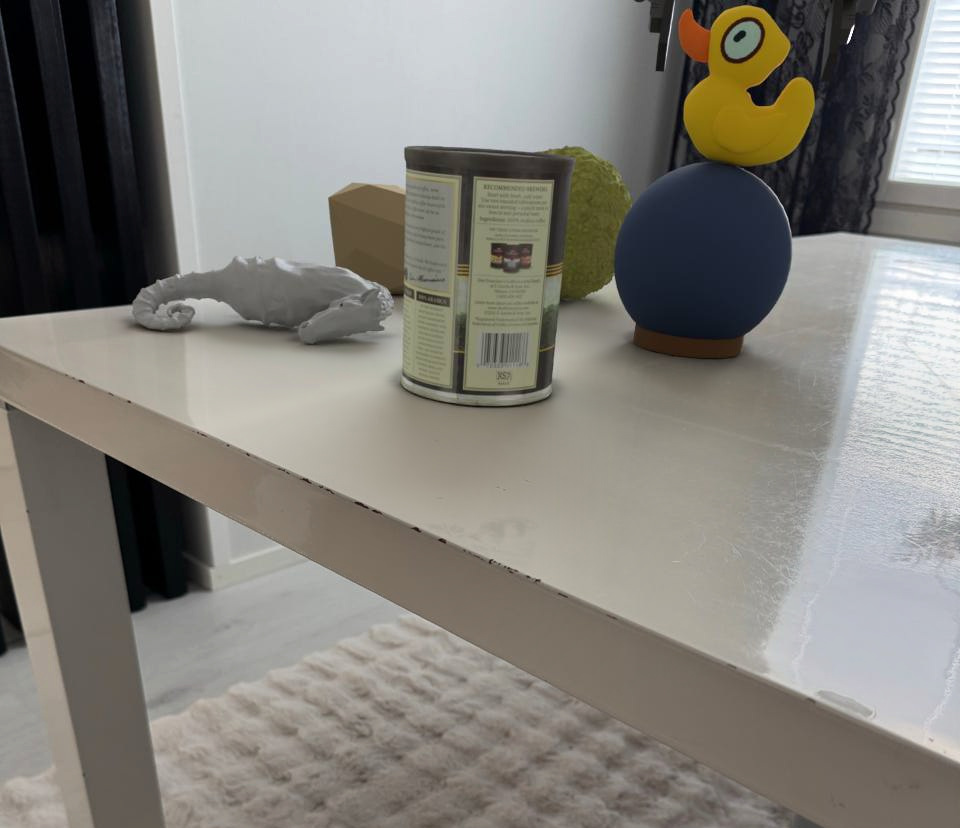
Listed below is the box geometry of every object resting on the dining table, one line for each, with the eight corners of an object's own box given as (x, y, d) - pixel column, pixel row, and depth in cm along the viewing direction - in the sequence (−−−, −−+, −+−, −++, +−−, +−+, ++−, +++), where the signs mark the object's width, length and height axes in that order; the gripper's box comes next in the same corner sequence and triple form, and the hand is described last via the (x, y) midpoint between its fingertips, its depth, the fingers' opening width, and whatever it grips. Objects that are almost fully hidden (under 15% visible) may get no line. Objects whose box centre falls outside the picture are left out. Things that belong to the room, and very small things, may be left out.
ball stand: (765, 340, 86) (801, 166, 79) (778, 375, 73) (821, 173, 67) (609, 324, 87) (631, 153, 81) (596, 356, 75) (620, 157, 69)
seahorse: (117, 326, 68) (397, 294, 70) (125, 246, 75) (378, 219, 77) (139, 388, 72) (403, 355, 74) (144, 306, 79) (384, 278, 81)
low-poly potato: (297, 289, 94) (322, 245, 83) (317, 183, 94) (345, 126, 84) (438, 334, 99) (480, 299, 89) (457, 233, 100) (500, 186, 89)
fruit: (440, 292, 95) (453, 142, 96) (530, 334, 106) (541, 199, 106) (572, 258, 85) (585, 89, 85) (656, 309, 95) (668, 159, 95)
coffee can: (476, 361, 70) (490, 147, 64) (583, 393, 64) (611, 159, 57) (366, 378, 64) (368, 141, 57) (473, 416, 58) (490, 155, 51)
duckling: (645, 144, 71) (688, -14, 66) (647, 141, 76) (687, -7, 71) (793, 182, 71) (848, 25, 66) (786, 176, 76) (836, 30, 70)
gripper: (900, -77, 86) (886, 110, 81) (624, -89, 90) (592, 90, 84) (931, -168, 79) (917, 30, 73) (629, -177, 82) (594, 12, 77)
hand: (744, 63), depth 79 cm, fingers open, 13 cm apart
